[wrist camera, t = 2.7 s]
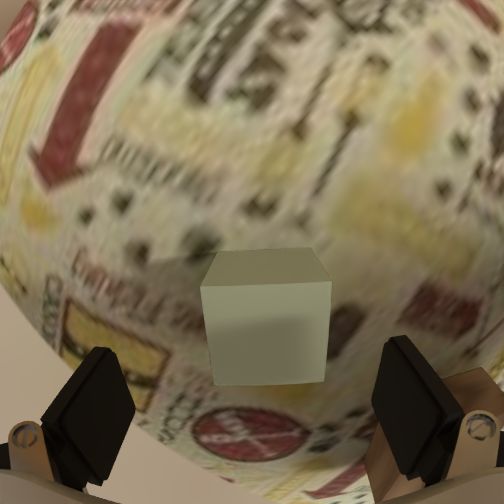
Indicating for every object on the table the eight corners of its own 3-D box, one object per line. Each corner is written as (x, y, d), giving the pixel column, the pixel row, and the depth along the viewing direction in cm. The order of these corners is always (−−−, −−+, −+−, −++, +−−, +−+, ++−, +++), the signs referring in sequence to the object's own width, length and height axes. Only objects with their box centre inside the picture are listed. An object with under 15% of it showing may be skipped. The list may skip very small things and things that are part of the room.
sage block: (310, 247, 16) (332, 281, 11) (309, 328, 17) (323, 381, 12) (218, 251, 16) (199, 286, 11) (226, 331, 17) (214, 385, 12)
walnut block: (481, 366, 18) (515, 406, 12) (446, 436, 21) (466, 474, 15) (388, 392, 18) (414, 449, 12) (363, 460, 21) (376, 507, 15)
